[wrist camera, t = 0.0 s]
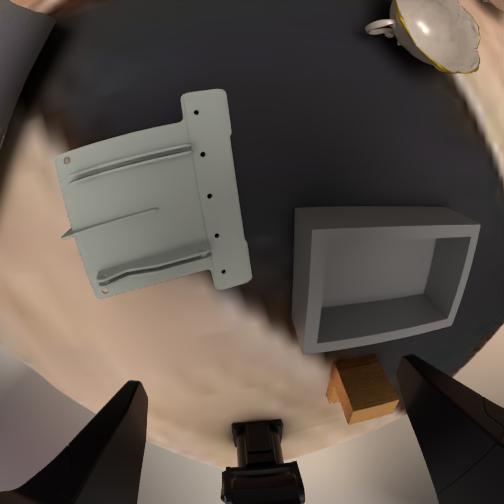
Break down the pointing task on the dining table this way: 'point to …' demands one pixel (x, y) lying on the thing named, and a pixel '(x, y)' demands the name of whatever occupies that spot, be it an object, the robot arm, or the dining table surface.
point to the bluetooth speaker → (18, 53)
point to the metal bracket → (158, 202)
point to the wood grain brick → (361, 389)
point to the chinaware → (435, 32)
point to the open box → (377, 273)
